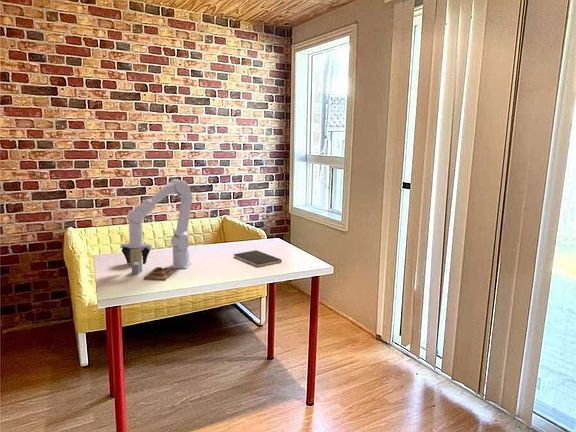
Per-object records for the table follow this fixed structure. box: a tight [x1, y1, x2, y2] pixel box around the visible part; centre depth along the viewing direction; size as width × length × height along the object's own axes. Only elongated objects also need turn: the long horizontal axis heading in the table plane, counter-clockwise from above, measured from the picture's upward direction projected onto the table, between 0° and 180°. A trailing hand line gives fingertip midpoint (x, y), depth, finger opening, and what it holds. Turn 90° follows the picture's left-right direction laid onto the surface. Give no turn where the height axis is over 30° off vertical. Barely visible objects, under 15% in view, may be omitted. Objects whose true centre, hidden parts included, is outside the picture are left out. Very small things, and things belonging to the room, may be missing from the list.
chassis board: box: [143, 266, 176, 281], centre depth 195 cm, size 14×10×2 cm
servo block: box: [131, 262, 143, 276], centre depth 198 cm, size 5×3×6 cm, turn 177°
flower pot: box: [128, 248, 144, 266], centre depth 211 cm, size 9×9×9 cm
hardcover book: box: [233, 249, 283, 268], centre depth 226 cm, size 16×23×2 cm
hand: (136, 263), depth 197 cm, fingers open, 7 cm apart
